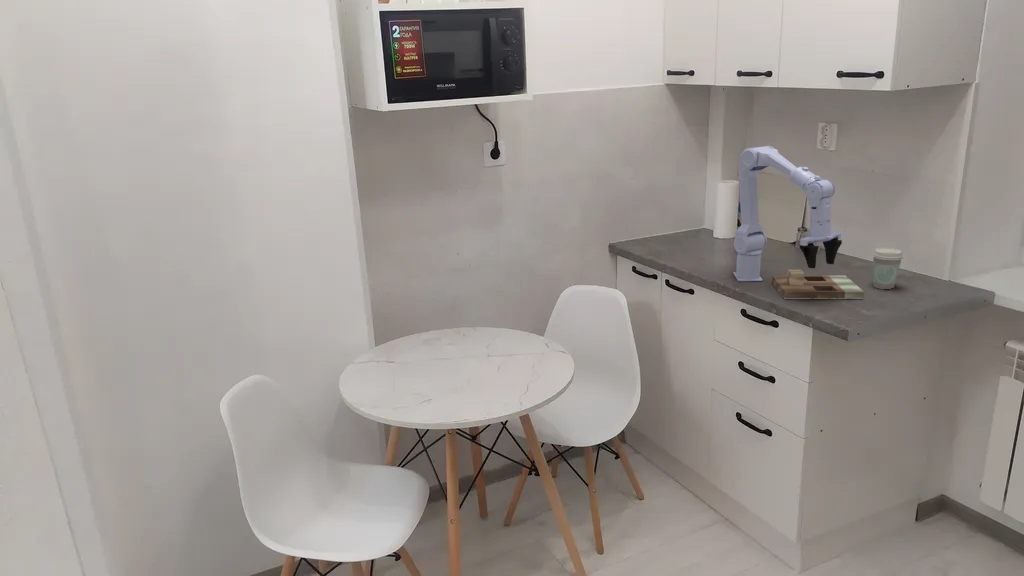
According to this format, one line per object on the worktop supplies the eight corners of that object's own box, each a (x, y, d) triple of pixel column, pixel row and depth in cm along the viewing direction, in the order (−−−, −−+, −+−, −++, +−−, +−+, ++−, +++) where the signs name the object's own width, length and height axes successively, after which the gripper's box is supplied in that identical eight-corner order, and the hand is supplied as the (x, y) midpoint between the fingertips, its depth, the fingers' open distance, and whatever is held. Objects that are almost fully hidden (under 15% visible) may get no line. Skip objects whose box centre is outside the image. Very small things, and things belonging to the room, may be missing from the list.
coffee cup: (864, 287, 226) (868, 251, 223) (874, 281, 232) (878, 245, 228) (893, 292, 221) (898, 255, 217) (902, 286, 226) (907, 250, 223)
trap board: (771, 283, 234) (772, 275, 234) (844, 282, 232) (845, 275, 231) (784, 299, 218) (785, 292, 218) (863, 299, 216) (864, 291, 215)
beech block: (786, 281, 227) (787, 269, 226) (799, 281, 227) (800, 269, 226) (790, 285, 223) (791, 273, 222) (803, 285, 223) (804, 273, 222)
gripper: (813, 225, 205) (813, 271, 207) (849, 218, 210) (849, 263, 213) (794, 223, 211) (795, 268, 214) (829, 217, 217) (830, 261, 219)
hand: (820, 265), depth 214 cm, fingers open, 7 cm apart
